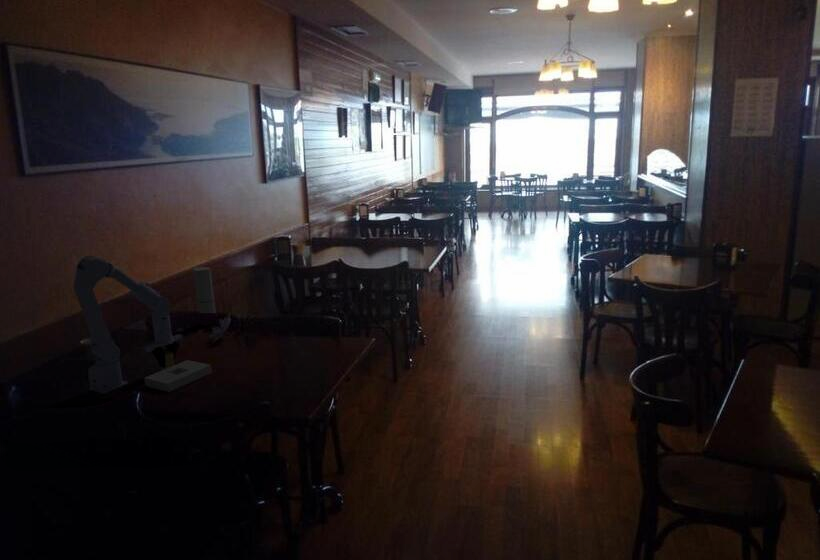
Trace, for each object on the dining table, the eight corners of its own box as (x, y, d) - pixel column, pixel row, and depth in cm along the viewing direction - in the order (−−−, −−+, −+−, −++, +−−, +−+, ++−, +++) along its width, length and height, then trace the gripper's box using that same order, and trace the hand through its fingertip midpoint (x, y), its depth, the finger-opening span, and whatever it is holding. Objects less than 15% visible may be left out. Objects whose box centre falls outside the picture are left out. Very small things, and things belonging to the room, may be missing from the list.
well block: (169, 392, 202) (168, 383, 201) (145, 386, 208) (144, 377, 207) (212, 372, 217) (211, 364, 217) (188, 367, 223) (187, 359, 223)
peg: (167, 371, 221) (164, 355, 219) (160, 370, 222) (158, 354, 221) (175, 368, 223) (173, 352, 222) (168, 366, 225) (166, 351, 224)
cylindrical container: (218, 321, 280) (212, 266, 274) (214, 325, 273) (207, 270, 267) (202, 321, 280) (195, 267, 274) (198, 326, 273) (190, 271, 267)
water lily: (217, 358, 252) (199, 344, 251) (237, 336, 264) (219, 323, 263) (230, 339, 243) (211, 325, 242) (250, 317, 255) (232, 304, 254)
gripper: (152, 336, 211) (157, 373, 214) (186, 324, 223) (191, 359, 227) (138, 333, 215) (144, 370, 218) (173, 322, 227) (178, 357, 230)
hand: (167, 364), depth 222 cm, fingers closed on peg, 3 cm apart
